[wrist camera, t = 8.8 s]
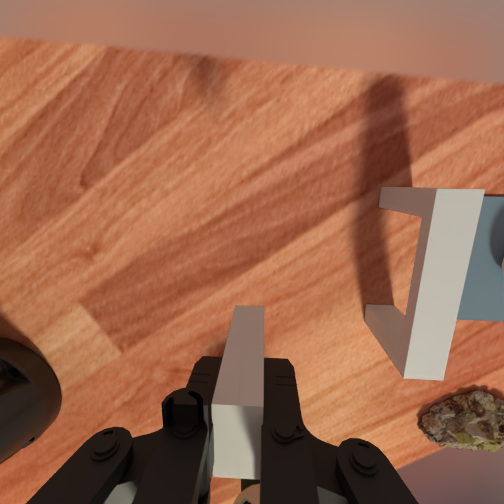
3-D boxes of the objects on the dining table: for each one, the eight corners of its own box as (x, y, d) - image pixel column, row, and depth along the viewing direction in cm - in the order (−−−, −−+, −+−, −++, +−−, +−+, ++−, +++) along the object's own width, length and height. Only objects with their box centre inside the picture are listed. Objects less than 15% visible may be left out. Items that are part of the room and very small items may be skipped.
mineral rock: (529, 394, 29) (543, 470, 29) (498, 376, 33) (510, 442, 33) (422, 402, 31) (434, 475, 30) (406, 384, 35) (416, 447, 35)
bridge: (364, 320, 30) (403, 378, 21) (381, 186, 27) (437, 188, 18) (391, 322, 30) (443, 380, 21) (412, 187, 27) (485, 189, 18)
